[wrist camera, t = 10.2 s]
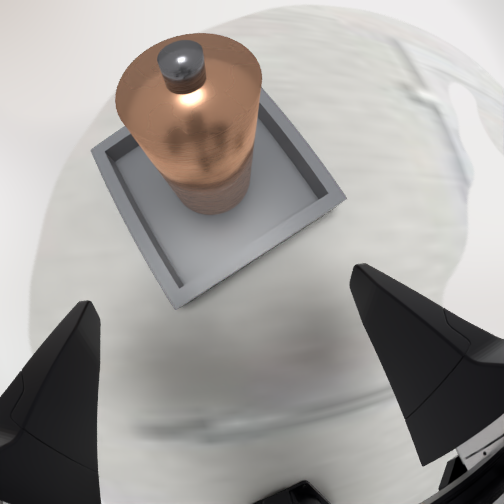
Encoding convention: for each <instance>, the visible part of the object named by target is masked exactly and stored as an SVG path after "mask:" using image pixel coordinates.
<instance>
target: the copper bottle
mask: <svg viewBox="0 0 504 504" xmlns="http://www.w3.org/2000/svg"><path fill="white" fill-rule="evenodd" d="M261 84H262V73H261V69H260V65H259V63H258V61H257V59H256V58H255V56H254V55H253V54H252V53H251V52H250V51H249V50H248V49H247V48H246V47H245V46H243V45H242V44H240V43H239V42H237V41H235V40H233V39H230V38H228V37H224V36H221V35H215V34H206V33H195V34H186V35H181V36H176V37H173V38H170V39H167V40H164V41H162V42H160V43H158V44H156V45H154V46H152V47H150V48H149V49H147V50H146V51H144V52H143V53H142V54H140V55H139V56H138V57H137V58H136V59H135V60H134V61H133V62H132V63H131V64H130V65H129V66H128V68H127V69H126V70H125V72H124V73H123V75H122V77H121V79H120V81H119V84H118V86H117V90H116V98H115V102H116V109H117V112H118V115H119V117H120V119H121V121H122V122H123V123H124V125H125V126H126V128H127V129H128V130H129V132H130V133H131V134H132V136H133V137H134V139H135V140H136V141H137V143H138V144H139V145H140V147H141V148H142V150H143V151H144V152H145V154H146V155H147V156H148V158H149V159H150V160H151V162H152V163H153V164H154V166H155V167H156V168H157V170H158V171H159V172H160V174H161V175H162V176H163V178H164V179H165V180H166V182H167V183H168V184H169V186H170V187H171V188H172V190H173V191H174V192H175V194H176V195H177V196H178V198H179V199H180V200H181V202H182V203H183V204H184V205H185V206H186V207H188V208H189V209H190V210H192V211H194V212H197V213H200V214H204V215H216V214H221V213H224V212H227V211H229V210H231V209H232V208H234V207H235V206H236V205H238V204H239V203H240V202H241V201H242V199H243V198H244V196H245V195H246V193H247V190H248V188H249V183H250V175H251V167H252V158H253V150H254V141H255V133H256V125H257V117H258V108H259V100H260V92H261Z"/></svg>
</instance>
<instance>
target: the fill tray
mask: <svg viewBox="0 0 504 504" xmlns="http://www.w3.org/2000/svg"><path fill="white" fill-rule="evenodd" d="M91 152H92V155H93V157H94V159H95V162H96V164H97V166H98V168H99V171H100V173H101V175H102V177H103V179H104V181H105V184H106V186H107V188H108V190H109V192H110V194H111V196H112V198H113V200H114V202H115V204H116V206H117V208H118V210H119V212H120V214H121V216H122V218H123V220H124V222H125V224H126V226H127V228H128V230H129V232H130V233H131V235H132V237H133V239H134V241H135V243H136V245H137V246H138V248H139V250H140V252H141V254H142V255H143V257H144V259H145V261H146V262H147V264H148V266H149V268H150V269H151V271H152V273H153V274H154V276H155V278H156V280H157V281H158V283H159V285H160V286H161V288H162V290H163V291H164V293H165V294H166V296H167V298H168V299H169V301H170V303H171V304H172V306H173V307H174V309H175V310H176V309H178V308H180V307H182V306H184V305H186V304H187V303H189V302H190V301H192V300H193V299H195V298H196V297H198V296H200V295H201V294H203V293H204V292H206V291H207V290H209V289H211V288H212V287H214V286H215V285H217V284H218V283H220V282H221V281H223V280H225V279H226V278H228V277H229V276H231V275H232V274H234V273H235V272H237V271H239V270H240V269H242V268H243V267H245V266H246V265H248V264H249V263H251V262H252V261H254V260H256V259H257V258H259V257H260V256H262V255H263V254H265V253H266V252H268V251H269V250H271V249H273V248H274V247H276V246H277V245H279V244H280V243H282V242H283V241H285V240H286V239H288V238H289V237H291V236H293V235H294V234H296V233H297V232H299V231H300V230H302V229H303V228H305V227H306V226H308V225H309V224H311V223H312V222H314V221H315V220H317V219H319V218H320V217H322V216H323V215H325V214H326V213H328V212H329V211H331V210H332V209H334V208H335V207H336V206H338V205H339V204H340V203H342V202H343V201H344V200H346V199H347V198H346V196H345V195H344V193H343V192H342V190H341V189H340V187H339V186H338V184H337V183H336V181H335V180H334V179H333V177H332V176H331V174H330V173H329V171H328V170H327V169H326V167H325V166H324V165H323V163H322V162H321V160H320V159H319V158H318V156H317V155H316V154H315V152H314V151H313V150H312V148H311V147H310V146H309V144H308V143H307V142H306V141H305V139H304V138H303V137H302V135H301V134H300V133H299V132H298V130H297V129H296V128H295V127H294V125H293V124H292V123H291V122H290V120H289V119H288V118H287V117H286V115H285V114H284V113H283V112H282V111H281V109H280V108H279V107H278V106H277V105H276V103H275V102H274V101H273V100H272V99H271V98H270V96H269V95H268V94H267V93H266V92H265V91H264V90H263V88H262V87H261V92H260V100H259V108H258V117H257V125H256V133H255V141H254V150H253V158H252V167H251V175H250V183H249V188H248V190H247V193H246V195H245V196H244V198H243V199H242V201H241V202H240V203H239V204H238V205H236V206H235V207H234V208H232V209H231V210H229V211H227V212H224V213H221V214H216V215H204V214H200V213H197V212H194V211H192V210H190V209H189V208H188V207H186V206H185V205H184V204H183V203H182V202H181V200H180V199H179V198H178V196H177V195H176V194H175V192H174V191H173V190H172V188H171V187H170V186H169V184H168V183H167V182H166V180H165V179H164V178H163V176H162V175H161V174H160V172H159V171H158V170H157V168H156V167H155V166H154V164H153V163H152V162H151V160H150V159H149V158H148V156H147V155H146V154H145V152H144V151H143V150H142V148H141V147H140V145H139V144H138V143H137V141H136V140H135V139H134V137H133V136H132V134H131V133H130V132H129V130H128V129H127V128H126V126H124V127H123V128H121V129H120V130H118V131H117V132H115V133H114V134H112V135H111V136H109V137H108V138H107V139H105V140H104V141H102V142H101V143H99V144H98V145H97V146H95V147H94V148H93V149H91Z"/></svg>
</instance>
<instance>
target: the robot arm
mask: <svg viewBox="0 0 504 504" xmlns="http://www.w3.org/2000/svg"><path fill="white" fill-rule="evenodd" d="M350 290H351V293H352V295H353V298H354V301H355V303H356V306H357V309H358V312H359V315H360V317H361V320H362V323H363V325H364V327H365V329H366V332H367V334H368V336H369V338H370V340H371V342H372V344H373V346H374V349H375V351H376V353H377V355H378V357H379V360H380V362H381V364H382V366H383V369H384V371H385V373H386V375H387V378H388V380H389V382H390V385H391V387H392V389H393V392H394V394H395V396H396V399H397V401H398V404H399V406H400V409H401V411H402V414H403V416H404V419H405V422H406V424H407V427H408V429H409V432H410V434H411V437H412V440H413V442H414V445H415V448H416V451H417V453H418V456H419V459H420V462H421V464H422V466H425V465H427V464H429V463H431V462H433V461H435V460H436V459H438V458H440V457H442V456H443V455H445V454H447V453H449V452H450V451H452V450H453V449H455V448H456V451H457V453H458V455H457V456H455V457H454V458H452V459H451V460H450V461H448V462H447V465H446V468H445V471H444V474H443V477H442V480H441V483H440V486H439V488H438V489H439V492H437V493H436V494H434V495H433V496H431V497H430V498H428V499H426V500H425V501H423V502H421V503H420V504H504V339H501V338H498V337H496V336H494V335H492V334H490V333H488V332H487V331H485V330H483V329H481V328H479V327H477V326H475V325H473V324H471V323H469V322H467V321H465V320H464V319H462V318H460V317H458V316H457V315H455V314H453V313H451V312H450V311H448V310H447V309H445V308H443V307H441V306H440V305H438V304H436V303H435V302H433V301H431V300H430V299H428V298H426V297H425V296H423V295H421V294H419V293H418V292H416V291H414V290H412V289H411V288H409V287H407V286H405V285H404V284H402V283H400V282H398V281H397V280H395V279H393V278H391V277H390V276H388V275H386V274H384V273H382V272H381V271H379V270H377V269H375V268H373V267H371V266H370V265H368V264H366V263H362V264H357V265H355V266H354V267H353V271H352V275H351V279H350ZM100 326H101V323H100V318H99V316H98V314H97V312H96V310H95V308H94V306H93V304H92V302H91V301H89V300H87V301H80V302H78V303H77V304H76V306H75V307H74V308H73V309H72V310H71V311H70V312H69V313H68V314H67V316H66V317H65V318H64V319H63V320H62V321H61V322H60V323H59V325H58V326H57V327H56V328H55V329H54V330H53V332H52V333H51V334H50V335H49V336H48V338H47V339H46V340H45V341H44V342H43V344H42V345H41V346H40V347H39V348H38V350H37V351H36V352H35V353H34V355H33V356H32V357H31V358H30V360H29V361H28V362H27V364H26V365H25V366H24V367H23V369H22V371H20V372H19V374H18V375H17V376H16V378H15V379H14V380H13V382H12V383H11V384H10V386H9V387H8V388H7V389H6V391H5V392H4V393H3V394H2V395H1V397H0V504H101V498H100V488H99V475H98V459H97V405H98V386H99V372H100ZM303 485H305V486H303ZM254 504H330V503H329V502H328V501H327V500H326V499H325V498H324V497H323V496H322V495H321V494H320V493H319V492H318V491H317V490H316V489H315V488H314V487H313V486H312V485H311V484H310V483H309V482H308V481H302V482H300V483H298V484H296V485H294V486H292V487H290V488H288V489H286V490H284V491H282V492H280V493H278V494H275V495H273V496H271V497H269V498H266V499H264V500H262V501H259V502H257V503H254Z"/></svg>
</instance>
